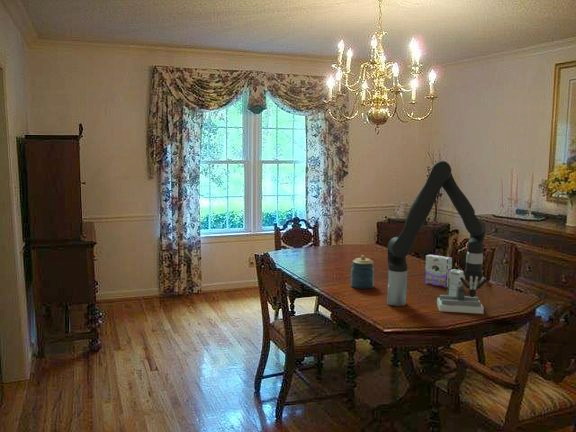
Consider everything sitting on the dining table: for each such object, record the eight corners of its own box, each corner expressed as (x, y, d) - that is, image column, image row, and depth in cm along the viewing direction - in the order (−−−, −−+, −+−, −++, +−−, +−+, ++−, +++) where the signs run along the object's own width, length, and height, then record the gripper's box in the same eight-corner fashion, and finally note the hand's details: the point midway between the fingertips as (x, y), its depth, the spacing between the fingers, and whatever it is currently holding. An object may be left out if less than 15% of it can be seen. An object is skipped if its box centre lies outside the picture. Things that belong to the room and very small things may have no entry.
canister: (357, 281, 303) (358, 251, 300) (377, 285, 295) (378, 254, 293) (346, 286, 292) (347, 255, 290) (367, 290, 285) (368, 258, 282)
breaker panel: (439, 311, 251) (440, 300, 250) (436, 303, 263) (437, 293, 262) (483, 313, 248) (484, 303, 247) (478, 306, 259) (479, 296, 259)
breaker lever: (457, 303, 253) (458, 286, 251) (455, 300, 258) (456, 284, 256) (463, 303, 252) (464, 287, 251) (462, 300, 257) (463, 284, 256)
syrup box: (451, 295, 277) (452, 268, 275) (462, 297, 273) (463, 270, 271) (446, 298, 272) (448, 270, 270) (457, 300, 269) (459, 272, 267)
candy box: (451, 285, 296) (452, 257, 293) (446, 288, 291) (447, 259, 289) (428, 281, 305) (430, 253, 303) (423, 283, 301) (425, 255, 298)
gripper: (487, 260, 254) (484, 295, 256) (458, 259, 256) (456, 293, 258) (490, 264, 246) (487, 299, 249) (461, 262, 248) (458, 298, 251)
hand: (471, 296), depth 253 cm, fingers closed
